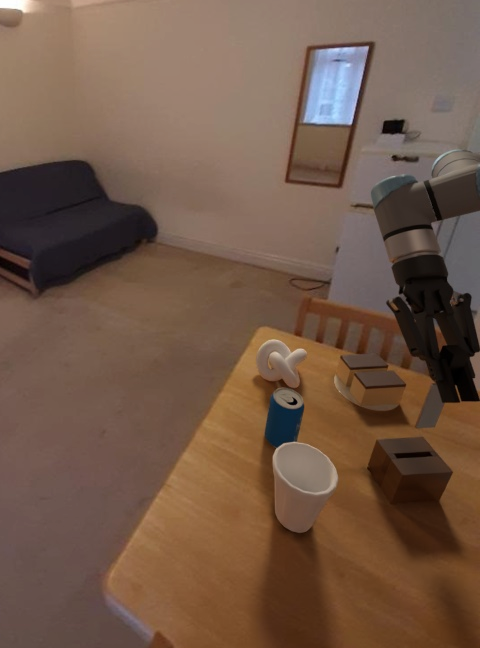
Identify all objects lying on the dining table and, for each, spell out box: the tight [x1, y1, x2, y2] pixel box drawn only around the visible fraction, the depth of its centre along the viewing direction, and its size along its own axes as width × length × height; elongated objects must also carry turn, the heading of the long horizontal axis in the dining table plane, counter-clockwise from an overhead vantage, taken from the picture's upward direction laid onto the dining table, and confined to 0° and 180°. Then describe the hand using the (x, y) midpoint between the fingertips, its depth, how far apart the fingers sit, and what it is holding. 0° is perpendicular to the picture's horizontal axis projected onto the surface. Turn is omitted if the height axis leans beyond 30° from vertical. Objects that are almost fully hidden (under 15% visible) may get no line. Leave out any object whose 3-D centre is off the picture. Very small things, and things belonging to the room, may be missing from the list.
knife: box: [414, 344, 469, 429], centre depth 67 cm, size 3×2×17 cm
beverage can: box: [264, 387, 305, 448], centre depth 84 cm, size 6×6×12 cm
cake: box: [335, 352, 407, 407], centre depth 96 cm, size 9×11×6 cm
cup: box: [272, 441, 339, 534], centre depth 69 cm, size 10×10×13 cm
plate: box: [333, 374, 400, 412], centre depth 98 cm, size 14×14×1 cm
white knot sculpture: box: [255, 339, 308, 389], centre depth 102 cm, size 11×12×9 cm
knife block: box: [366, 436, 454, 505], centre depth 75 cm, size 9×7×8 cm
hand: (460, 401), depth 63 cm, fingers closed on knife, 2 cm apart
